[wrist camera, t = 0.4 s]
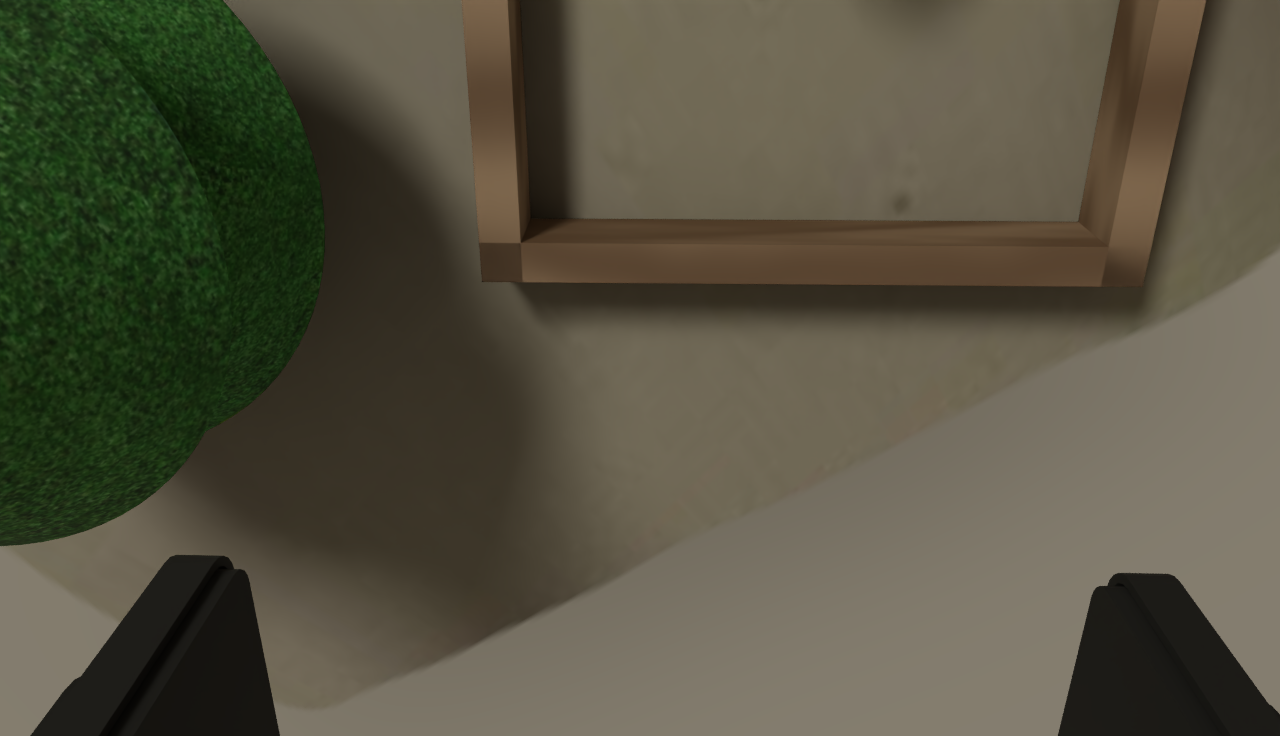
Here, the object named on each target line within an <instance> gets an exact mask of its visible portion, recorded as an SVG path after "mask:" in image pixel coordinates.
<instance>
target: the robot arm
mask: <svg viewBox="0 0 1280 736" xmlns="http://www.w3.org/2000/svg"><path fill="white" fill-rule="evenodd" d="M31 736H280V734H279V729H278V724H277V719H276V714H275V708H274V703H273V698H272V693H271V688H270V683H269V678H268V673H267V668H266V663H265V658H264V653H263V648H262V643H261V638H260V633H259V628H258V623H257V618H256V613H255V607H254V602H253V597H252V592H251V587H250V582H249V578H248V575H247V574H246V572H245V571H244V570H241V569H234V568H233V564H232V562H231V561H230V559H229V558H228V557H225V556H202V555H175V556H172V557H170V558H169V559H168V560H167V561H166V562H165V563H164V565H163V566H162V567H161V569H160V570H159V571H158V573H157V574H156V575H155V577H154V578H153V579H152V581H151V582H150V584H149V585H148V586H147V588H146V589H145V590H144V592H143V593H142V594H141V596H140V597H139V598H138V600H137V601H136V603H135V604H134V605H133V607H132V608H131V609H130V611H129V612H128V613H127V615H126V616H125V617H124V619H123V620H122V621H121V623H120V624H119V626H118V627H117V628H116V630H115V631H114V632H113V634H112V635H111V637H110V638H109V639H108V641H107V642H106V643H105V645H104V646H103V647H102V649H101V650H100V651H99V653H98V654H97V655H96V657H95V658H94V659H93V661H92V662H91V664H90V665H89V666H88V668H87V669H86V670H85V672H84V673H83V674H82V676H81V677H79V678H77V679H75V680H74V681H73V682H72V683H71V684H70V685H69V686H68V687H67V688H66V689H65V690H64V692H63V693H62V694H61V696H60V697H59V698H58V700H57V701H56V702H55V704H54V705H53V706H52V708H51V709H50V710H49V712H48V713H47V714H46V716H45V717H44V718H43V720H42V721H41V722H40V724H39V725H38V726H37V728H36V729H35V730H34V732H33V733H32V735H31ZM1058 736H1280V714H1279V713H1278V712H1277V711H1276V710H1275V709H1274V708H1273V707H1272V706H1271V705H1269V704H1268V703H1267V702H1266V700H1265V698H1264V697H1263V696H1262V694H1261V693H1260V692H1259V690H1258V689H1257V687H1256V686H1255V685H1254V683H1253V682H1252V680H1251V679H1250V678H1249V676H1248V675H1247V674H1246V672H1245V671H1244V670H1243V668H1242V667H1241V665H1240V664H1239V663H1238V661H1237V660H1236V658H1235V657H1234V656H1233V654H1232V653H1231V652H1230V650H1229V649H1228V647H1227V646H1226V645H1225V643H1224V642H1223V641H1222V639H1221V638H1220V636H1219V635H1218V634H1217V632H1216V631H1215V629H1214V628H1213V627H1212V625H1211V624H1210V623H1209V621H1208V620H1207V618H1206V617H1205V616H1204V614H1203V613H1202V612H1201V610H1200V609H1199V607H1198V606H1197V605H1196V603H1195V602H1194V601H1193V599H1192V598H1191V597H1190V595H1189V594H1188V592H1187V591H1186V589H1185V588H1184V587H1183V585H1182V584H1181V583H1180V581H1179V580H1178V579H1176V578H1175V576H1172V575H1170V574H1142V573H1139V574H1138V573H1118V574H1115V575H1113V576H1112V578H1111V579H1110V580H1109V583H1108V586H1099V587H1097V588H1096V589H1095V590H1094V592H1093V594H1092V597H1091V601H1090V606H1089V609H1088V613H1087V618H1086V622H1085V626H1084V630H1083V634H1082V638H1081V642H1080V646H1079V650H1078V655H1077V659H1076V663H1075V667H1074V671H1073V675H1072V679H1071V684H1070V688H1069V692H1068V696H1067V701H1066V705H1065V708H1064V713H1063V717H1062V721H1061V725H1060V729H1059V733H1058Z"/></svg>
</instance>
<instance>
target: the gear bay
mask: <svg viewBox="0 0 1280 736" xmlns="http://www.w3.org/2000/svg"><path fill="white" fill-rule="evenodd" d="M1205 4H1206V0H1120V3H1119V8H1118V13H1117V19H1116V24H1115V29H1114V35H1113V40H1112V45H1111V51H1110V56H1109V61H1108V67H1107V72H1106V77H1105V83H1104V88H1103V93H1102V99H1101V104H1100V109H1099V115H1098V120H1097V125H1096V130H1095V136H1094V141H1093V146H1092V152H1091V157H1090V162H1089V168H1088V173H1087V178H1086V184H1085V189H1084V194H1083V200H1082V205H1081V210H1080V216H1079V221H1078V222H1007V221H845V220H683V219H531V212H530V192H529V172H528V151H527V131H526V110H525V90H524V69H523V49H522V28H521V8H520V0H462V10H463V24H464V38H465V52H466V66H467V80H468V94H469V108H470V122H471V135H472V149H473V163H474V177H475V191H476V205H477V219H478V233H479V247H480V261H481V274H482V282H564V283H694V284H824V285H954V286H1084V287H1143V283H1144V278H1145V274H1146V269H1147V265H1148V260H1149V256H1150V251H1151V247H1152V242H1153V238H1154V233H1155V229H1156V224H1157V220H1158V215H1159V211H1160V206H1161V202H1162V197H1163V193H1164V188H1165V184H1166V179H1167V175H1168V170H1169V166H1170V161H1171V157H1172V152H1173V148H1174V143H1175V139H1176V134H1177V130H1178V125H1179V121H1180V116H1181V112H1182V107H1183V103H1184V98H1185V94H1186V89H1187V85H1188V80H1189V76H1190V71H1191V67H1192V62H1193V58H1194V53H1195V49H1196V44H1197V40H1198V35H1199V31H1200V26H1201V22H1202V17H1203V13H1204V8H1205Z"/></svg>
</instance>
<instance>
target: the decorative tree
mask: <svg viewBox="0 0 1280 736" xmlns="http://www.w3.org/2000/svg"><path fill="white" fill-rule="evenodd" d="M324 251H325V225H324V211H323V202H322V195H321V189H320V183H319V178H318V174H317V170H316V165H315V161H314V158H313V155H312V151H311V148H310V145H309V142H308V138H307V136H306V133H305V131H304V128H303V126H302V123H301V120H300V118H299V115H298V113H297V111H296V109H295V107H294V105H293V103H292V100H291V98H290V96H289V94H288V92H287V90H286V88H285V86H284V85H283V83H282V81H281V79H280V78H279V76H278V74H277V72H276V70H275V69H274V67H273V66H272V64H271V62H270V61H269V59H268V58H267V56H266V55H265V53H264V52H263V50H262V49H261V47H260V46H259V44H258V43H257V42H256V40H255V39H254V38H253V36H252V35H251V34H250V32H249V31H248V30H247V28H246V27H245V26H244V24H243V23H242V22H241V21H240V20H239V19H238V17H237V16H236V15H235V14H234V13H233V12H232V10H231V9H230V8H229V7H228V6H227V5H226V3H225V2H224V1H223V0H0V546H9V545H23V544H30V543H38V542H44V541H49V540H54V539H59V538H63V537H67V536H70V535H74V534H77V533H80V532H84V531H86V530H89V529H92V528H94V527H97V526H99V525H102V524H104V523H106V522H108V521H110V520H112V519H115V518H117V517H119V516H121V515H123V514H124V513H126V512H127V511H129V510H131V509H132V508H134V507H136V506H137V505H139V504H140V503H142V502H143V501H144V500H146V499H147V498H148V497H150V496H151V495H152V494H154V493H155V492H156V491H157V490H159V489H160V488H161V487H162V486H163V485H164V484H165V483H166V482H167V481H168V480H170V479H171V477H172V476H173V475H174V474H175V473H176V472H177V471H178V470H179V469H180V468H181V466H182V465H183V464H184V463H185V462H186V460H187V459H188V458H189V456H190V455H191V453H192V452H193V451H194V449H195V448H196V446H197V445H198V443H199V441H200V440H201V438H202V436H203V435H204V433H205V431H207V430H209V429H211V428H213V427H215V426H217V425H219V424H221V423H222V422H224V421H226V420H227V419H229V418H231V417H232V416H234V415H235V414H237V413H238V412H240V411H241V410H242V409H244V408H245V407H246V406H248V405H249V404H250V403H251V402H253V401H254V400H255V399H256V398H257V397H258V396H259V395H260V394H261V393H262V392H264V391H265V390H266V389H267V387H268V386H269V385H270V384H271V383H272V382H273V381H274V380H275V379H276V378H277V376H278V375H279V374H280V372H281V371H282V370H283V368H284V367H285V366H286V364H287V363H288V362H289V360H290V358H291V357H292V355H293V354H294V352H295V350H296V349H297V347H298V345H299V343H300V341H301V339H302V337H303V335H304V333H305V331H306V329H307V326H308V324H309V321H310V319H311V316H312V313H313V311H314V307H315V303H316V300H317V296H318V293H319V288H320V282H321V277H322V272H323V261H324Z"/></svg>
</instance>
